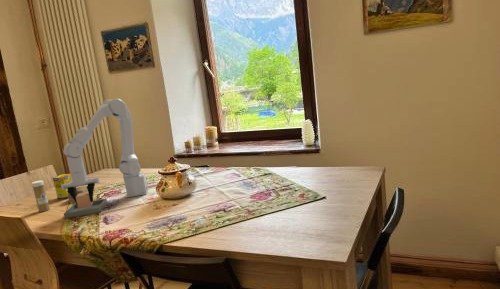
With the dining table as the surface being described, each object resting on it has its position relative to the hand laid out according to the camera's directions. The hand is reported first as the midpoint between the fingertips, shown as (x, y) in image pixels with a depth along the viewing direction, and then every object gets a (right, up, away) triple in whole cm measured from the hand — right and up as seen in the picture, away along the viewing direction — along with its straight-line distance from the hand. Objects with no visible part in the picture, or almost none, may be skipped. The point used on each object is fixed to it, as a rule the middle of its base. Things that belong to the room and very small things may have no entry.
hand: (84, 202), depth 162 cm
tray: (+1, -4, +1) cm, 4 cm away
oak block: (-11, -2, +20) cm, 23 cm away
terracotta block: (0, -1, 0) cm, 2 cm away
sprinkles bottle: (-23, -5, +10) cm, 25 cm away
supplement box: (-21, -2, +27) cm, 34 cm away
